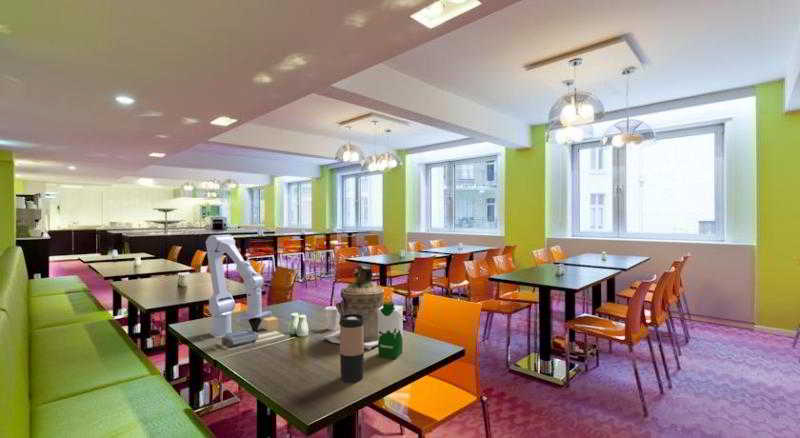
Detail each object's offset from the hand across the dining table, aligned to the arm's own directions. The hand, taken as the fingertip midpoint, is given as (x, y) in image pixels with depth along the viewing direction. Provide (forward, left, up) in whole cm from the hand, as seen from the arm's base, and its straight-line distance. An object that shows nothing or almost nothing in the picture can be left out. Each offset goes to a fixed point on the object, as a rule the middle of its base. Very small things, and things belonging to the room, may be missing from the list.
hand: (254, 335), depth 166 cm
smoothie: (+9, +33, -2) cm, 34 cm away
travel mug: (+59, +8, -2) cm, 60 cm away
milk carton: (+52, +31, -2) cm, 60 cm away
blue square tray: (0, -6, -1) cm, 6 cm away
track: (0, -1, -2) cm, 2 cm away
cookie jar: (+29, +35, -2) cm, 45 cm away
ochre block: (-10, +12, -2) cm, 15 cm away
